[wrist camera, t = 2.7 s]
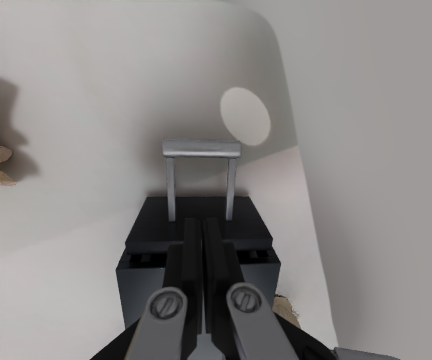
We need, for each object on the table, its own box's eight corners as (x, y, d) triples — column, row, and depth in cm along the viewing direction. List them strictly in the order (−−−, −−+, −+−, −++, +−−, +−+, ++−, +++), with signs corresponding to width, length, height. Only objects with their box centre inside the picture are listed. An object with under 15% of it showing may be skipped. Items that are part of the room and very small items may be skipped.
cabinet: (144, 206, 24) (115, 269, 15) (250, 205, 25) (281, 263, 16) (153, 308, 30) (136, 397, 21) (239, 303, 31) (257, 384, 22)
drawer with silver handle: (141, 129, 20) (111, 145, 13) (256, 132, 21) (288, 149, 14) (155, 299, 28) (142, 369, 21) (238, 295, 29) (252, 359, 22)
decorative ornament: (276, 287, 31) (291, 323, 26) (301, 315, 34) (320, 352, 29) (253, 301, 31) (265, 339, 26) (281, 327, 34) (295, 366, 29)
